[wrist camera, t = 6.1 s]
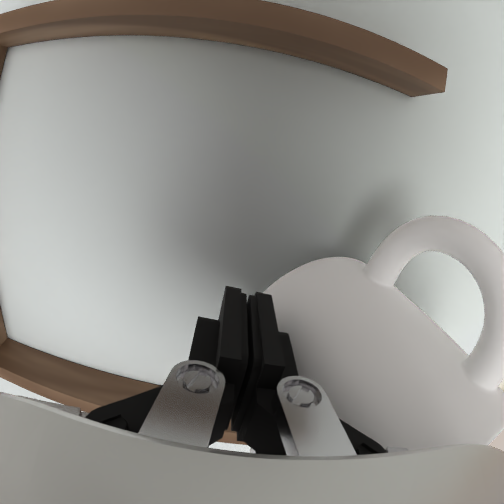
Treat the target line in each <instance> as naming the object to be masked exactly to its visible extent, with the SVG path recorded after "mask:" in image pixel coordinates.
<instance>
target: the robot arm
mask: <svg viewBox="0 0 504 504" xmlns="http://www.w3.org/2000/svg"><path fill="white" fill-rule="evenodd" d="M230 420H231V431H236V432H237V441H241V442H245V443H246V444H247V445H248V446H250V447H251V449H250V453H245V452H236V451H228V450H220V449H213V448H208V447H209V445H211V444H213V443H214V442H216V441H218V440H220V439H221V438H223V434H224V431H225V430H227V429H228V427H229V423H230ZM0 504H504V452H503V451H502V450H500V449H497V448H495V447H492V446H487V445H481V444H454V445H446V446H438V447H431V448H424V449H416V450H408V449H407V448H398V447H389V446H387V448H386V449H384V448H383V447H382V446H381V445H380V444H379V443H377V442H376V441H374V440H373V439H371V438H369V437H368V436H366V435H364V434H363V433H361V432H360V431H358V430H356V429H355V428H353V427H352V426H350V425H349V424H347V423H345V422H344V421H342V420H341V419H339V418H338V416H337V414H336V412H335V410H334V408H333V406H332V404H331V402H330V400H329V398H328V396H327V394H326V392H325V391H324V390H323V388H322V387H321V386H320V385H319V384H318V383H316V382H314V381H313V380H311V379H308V378H305V377H301V376H299V375H298V371H297V366H296V362H295V358H294V354H293V349H292V345H291V341H290V337H289V334H288V333H285V332H279V331H278V325H277V320H276V315H275V310H274V305H273V299H272V295H269V294H264V293H259V292H256V293H255V296H253V295H249V298H248V302H247V296H246V294H244V293H241V289H239V288H234V287H229V286H226V288H225V292H224V297H223V301H222V306H221V310H220V315H219V319H218V320H213V319H208V318H203V317H198V320H197V324H196V328H195V333H194V337H193V342H192V346H191V351H190V356H189V360H188V361H183V362H180V363H179V364H177V365H175V366H174V367H173V369H172V370H171V372H170V373H169V375H168V377H167V379H166V381H165V383H164V385H162V386H159V387H156V388H154V389H151V390H148V391H145V392H143V393H140V394H137V395H134V396H131V397H128V398H126V399H123V400H120V401H117V402H114V403H111V404H108V405H104V406H101V407H98V408H96V409H94V410H92V411H91V412H90V413H87V412H81V408H79V407H73V406H67V405H61V404H56V403H51V402H46V401H41V400H37V399H32V398H28V397H24V396H16V395H11V394H7V393H3V392H0Z"/></svg>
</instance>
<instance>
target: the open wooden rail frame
mask: <svg viewBox="0 0 504 504" xmlns="http://www.w3.org/2000/svg"><path fill="white" fill-rule="evenodd" d="M108 35H149V36H169V37H183V38H194V39H203V40H211V41H219V42H226V43H232V44H239V45H244V46H250V47H255V48H260V49H265V50H270V51H275V52H279V53H283V54H288V55H292V56H296V57H300V58H303V59H307V60H311V61H314V62H318V63H321V64H325V65H328V66H331V67H334V68H337V69H341V70H344V71H347V72H350V73H352V74H355V75H358V76H361V77H364V78H367V79H369V80H372V81H374V82H377V83H380V84H382V85H385V86H387V87H390V88H392V89H394V90H397V91H399V92H401V93H404V94H406V95H408V96H411V97H415V96H421V95H428V94H435V93H442V92H445V86H446V78H447V70H448V69H447V68H445V67H444V66H442V65H440V64H438V63H436V62H435V61H433V60H431V59H429V58H427V57H425V56H423V55H421V54H419V53H417V52H415V51H413V50H411V49H409V48H407V47H405V46H403V45H400V44H398V43H396V42H394V41H391V40H389V39H387V38H385V37H382V36H380V35H377V34H375V33H372V32H370V31H367V30H365V29H362V28H359V27H357V26H354V25H351V24H348V23H345V22H342V21H339V20H336V19H333V18H330V17H327V16H323V15H320V14H317V13H313V12H309V11H306V10H302V9H298V8H294V7H290V6H286V5H281V4H276V3H272V2H267V1H261V0H54V1H49V2H44V3H40V4H36V5H32V6H28V7H24V8H20V9H16V10H13V11H10V12H6V13H3V14H0V78H1V73H2V69H3V65H4V61H5V57H6V53H7V49H8V47H12V46H17V45H23V44H28V43H34V42H41V41H48V40H55V39H64V38H75V37H87V36H108ZM0 377H1V378H3V379H5V380H7V381H9V382H12V383H14V384H16V385H18V386H20V387H22V388H25V389H27V390H29V391H31V392H34V393H36V394H38V395H41V396H43V397H46V398H48V399H51V400H53V401H56V402H59V403H61V404H64V405H67V406H73V407H79V408H81V411H84V412H87V413H90V412H91V411H92V410H94V409H96V408H98V407H101V406H104V405H108V404H111V403H114V402H117V401H120V400H123V399H126V398H128V397H131V396H134V395H137V394H140V393H143V392H145V391H148V390H151V389H154V388H156V387H159V386H160V385H155V384H150V383H146V382H142V381H137V380H133V379H129V378H125V377H121V376H118V375H114V374H110V373H107V372H103V371H100V370H96V369H93V368H89V367H86V366H83V365H80V364H76V363H73V362H70V361H67V360H64V359H61V358H58V357H55V356H53V355H50V354H47V353H44V352H42V351H39V350H36V349H34V348H31V347H28V346H26V345H23V344H21V343H18V342H16V341H14V340H11V339H9V338H7V334H6V330H5V326H4V321H3V317H2V313H1V308H0ZM216 442H224V443H233V444H243V445H247V444H246V443H245V442H241V441H237V432H236V431H231V420H230V423H229V427H228V429H227V430H225V431H224V434H223V438H221V439H220V440H218V441H216Z"/></svg>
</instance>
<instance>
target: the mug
mask: <svg viewBox="0 0 504 504" xmlns="http://www.w3.org/2000/svg"><path fill="white" fill-rule="evenodd" d="M426 251H436V252H441V253H444V254H447V255H449V256H451V257H453V258H455V259H456V260H458V261H459V262H460V263H462V264H463V265H464V266H465V267H466V268H467V269H468V270H469V272H470V273H471V274H472V275H473V277H474V279H475V280H476V282H477V284H478V286H479V289H480V291H481V293H482V297H483V302H484V312H485V316H484V325H483V329H482V332H481V335H480V338H479V340H478V342H477V344H476V346H475V347H474V349H473V351H472V352H471V354H470V355H468V354H467V353H466V352H465V351H464V350H463V349H462V348H461V347H460V346H459V345H458V344H457V343H456V342H455V341H454V340H453V339H452V338H451V337H450V336H449V335H448V334H447V333H446V332H445V331H444V330H442V329H441V328H440V327H439V326H438V325H437V324H436V323H435V322H434V321H433V320H432V319H431V318H430V317H429V316H428V315H426V314H425V313H424V312H423V311H422V310H421V309H420V308H419V307H418V306H416V305H415V304H414V303H413V302H412V301H411V300H410V299H408V298H407V297H406V296H405V295H404V294H403V293H402V292H401V291H400V290H399V289H397V288H396V287H395V286H394V284H395V282H396V280H397V278H398V276H399V275H400V273H401V271H402V270H403V268H404V267H405V266H406V264H407V263H408V262H409V261H410V260H411V259H412V258H413V257H415V256H416V255H418V254H420V253H422V252H426ZM263 293H264V294H269V295H272V299H273V305H274V310H275V315H276V320H277V325H278V331H279V332H285V333H288V334H289V337H290V341H291V345H292V349H293V354H294V358H295V362H296V366H297V371H298V375H299V376H301V377H305V378H308V379H311V380H313V381H314V382H316V383H318V384H319V385H320V386H321V387H322V388H323V390H324V391H325V392H326V394H327V396H328V398H329V400H330V402H331V404H332V406H333V408H334V410H335V412H336V414H337V416H338V418H339V419H341V420H342V421H344V422H345V423H347V424H349V425H350V426H352V427H353V428H355V429H356V430H358V431H360V432H361V433H363V434H364V435H366V436H368V437H369V438H371V439H373V440H374V441H376V442H377V443H379V444H380V445H381V446H382V447H383V448H384V449H386V448H387V446H389V447H398V448H407V449H408V450H416V449H424V448H431V447H438V446H446V445H454V444H481V445H487V446H488V445H489V444H490V443H491V442H492V441H493V440H494V439H495V438H496V437H497V436H498V435H499V434H500V433H501V432H502V431H503V429H504V392H503V391H502V390H501V388H500V387H499V385H500V383H501V382H502V380H503V379H504V254H503V252H502V251H501V249H500V248H499V247H498V246H497V245H496V244H495V243H494V242H493V241H492V240H491V239H490V238H489V237H488V236H487V235H486V234H485V233H483V232H482V231H480V230H479V229H478V228H476V227H475V226H473V225H471V224H469V223H466V222H464V221H462V220H459V219H455V218H451V217H447V216H425V217H419V218H416V219H413V220H411V221H408V222H406V223H404V224H403V225H401V226H399V227H398V228H396V229H395V230H394V231H393V232H392V233H391V234H389V235H388V236H387V237H386V238H385V239H384V240H383V242H382V243H381V244H380V245H379V246H378V248H377V249H376V250H375V252H374V253H373V255H372V256H371V258H370V259H369V261H368V263H367V264H365V263H364V262H362V261H360V260H357V259H354V258H348V257H329V258H322V259H319V260H315V261H312V262H309V263H306V264H304V265H302V266H300V267H298V268H296V269H294V270H292V271H290V272H288V273H287V274H285V275H284V276H282V277H281V278H279V279H278V280H277V281H275V282H274V283H273V284H272V285H271V286H269V287H268V288H267V289H266V290H265V291H264V292H263Z"/></svg>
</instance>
